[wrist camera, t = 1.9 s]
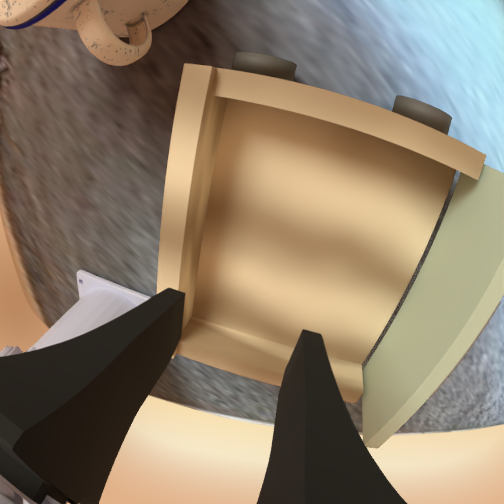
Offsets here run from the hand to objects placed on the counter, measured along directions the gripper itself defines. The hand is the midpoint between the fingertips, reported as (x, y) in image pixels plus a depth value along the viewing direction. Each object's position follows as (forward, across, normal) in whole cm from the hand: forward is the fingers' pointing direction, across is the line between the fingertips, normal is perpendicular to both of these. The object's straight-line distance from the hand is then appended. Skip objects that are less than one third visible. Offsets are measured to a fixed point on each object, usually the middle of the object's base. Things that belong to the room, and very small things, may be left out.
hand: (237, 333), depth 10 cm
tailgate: (+7, -9, 0) cm, 11 cm away
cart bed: (+9, -2, 0) cm, 10 cm away
